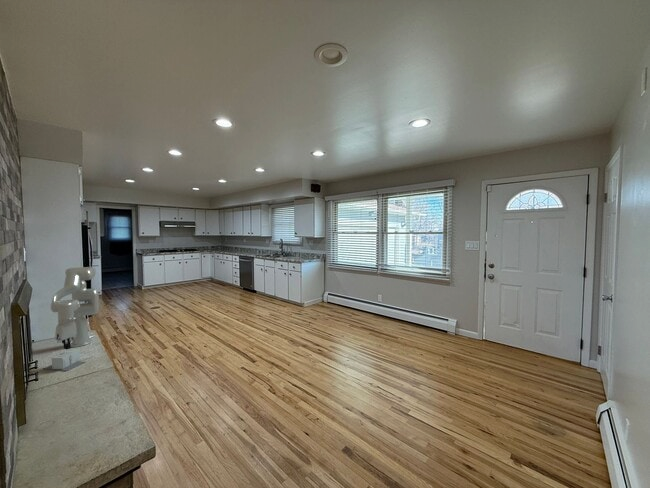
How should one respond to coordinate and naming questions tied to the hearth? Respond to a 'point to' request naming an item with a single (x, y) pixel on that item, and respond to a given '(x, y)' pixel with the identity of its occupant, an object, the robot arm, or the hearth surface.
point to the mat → (66, 367)
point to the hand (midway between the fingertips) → (67, 348)
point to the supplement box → (65, 359)
